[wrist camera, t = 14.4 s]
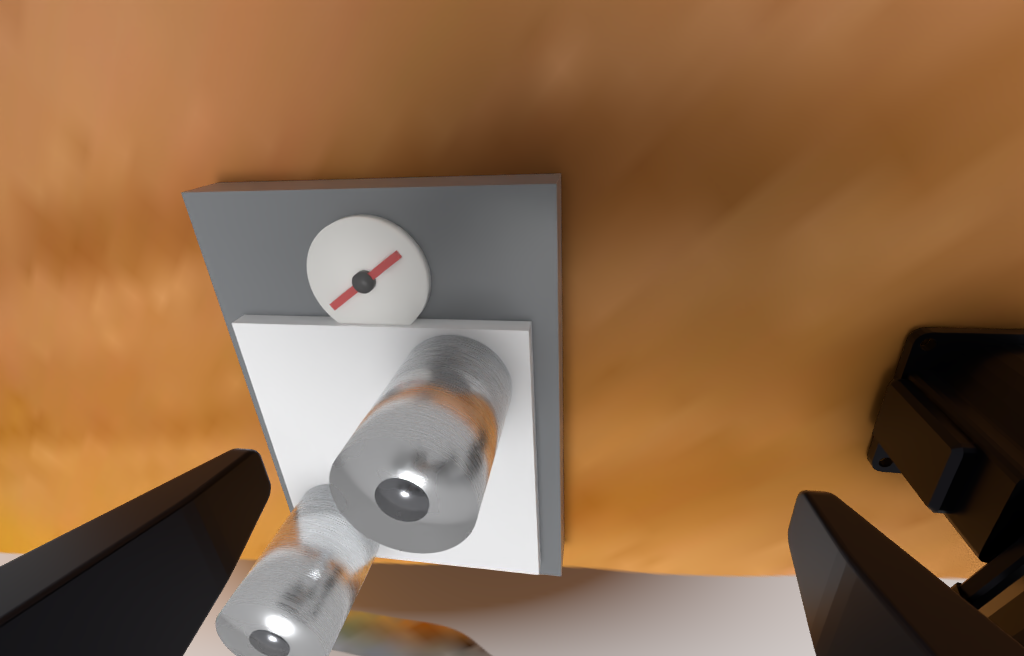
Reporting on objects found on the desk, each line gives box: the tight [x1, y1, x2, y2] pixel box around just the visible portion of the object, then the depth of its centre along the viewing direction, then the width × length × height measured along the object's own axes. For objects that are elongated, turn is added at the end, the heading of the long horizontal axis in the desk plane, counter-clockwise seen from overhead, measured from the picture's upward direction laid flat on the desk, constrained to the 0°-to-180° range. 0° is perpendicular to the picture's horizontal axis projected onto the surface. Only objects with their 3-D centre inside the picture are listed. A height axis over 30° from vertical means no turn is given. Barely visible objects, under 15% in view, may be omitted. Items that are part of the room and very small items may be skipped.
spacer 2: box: [329, 335, 512, 554], centre depth 17 cm, size 4×4×6 cm
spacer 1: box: [216, 484, 381, 656], centre depth 21 cm, size 4×4×6 cm
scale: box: [182, 173, 564, 576], centre depth 22 cm, size 14×19×3 cm
